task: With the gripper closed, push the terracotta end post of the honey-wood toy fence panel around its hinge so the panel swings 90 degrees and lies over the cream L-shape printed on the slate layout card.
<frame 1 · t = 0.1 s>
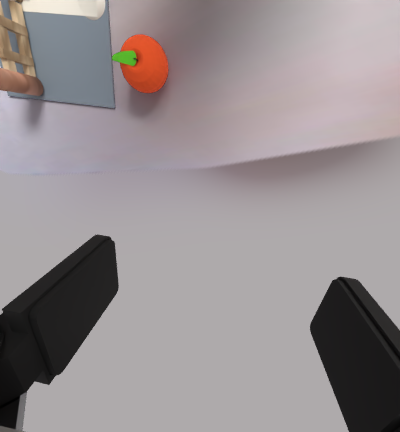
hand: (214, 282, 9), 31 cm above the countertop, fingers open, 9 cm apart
clementine: (150, 71, 33), on the countertop
fence panel: (10, 47, 31), point 4 cm above the countertop, hinge at 0.0°
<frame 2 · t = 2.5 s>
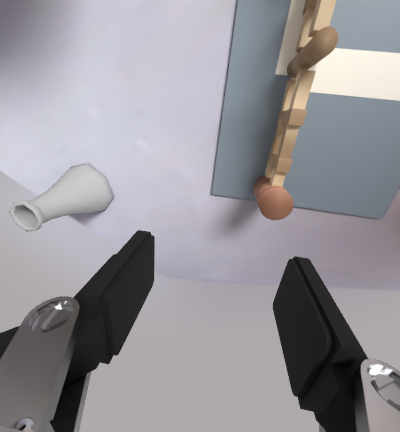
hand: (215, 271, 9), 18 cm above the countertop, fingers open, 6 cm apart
fence fixed section: (295, 68, 19), resting on layout card
flask: (90, 188, 29), on the countertop
fence panel: (282, 150, 19), point 4 cm above the countertop, hinge at 0.0°
layout card: (336, 73, 19), on the countertop
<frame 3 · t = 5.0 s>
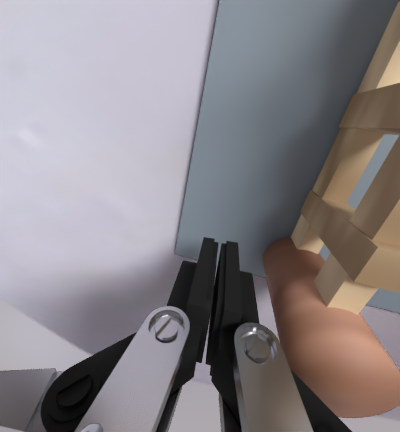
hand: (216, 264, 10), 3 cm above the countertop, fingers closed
fence panel: (368, 205, 6), point 4 cm above the countertop, hinge at 0.8°, touching gripper
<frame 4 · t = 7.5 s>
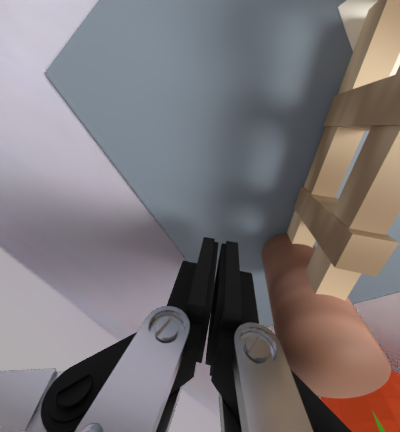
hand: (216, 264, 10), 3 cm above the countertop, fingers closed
clementine: (351, 362, 16), on the countertop
fence panel: (349, 197, 7), point 4 cm above the countertop, hinge at 48.6°, touching gripper
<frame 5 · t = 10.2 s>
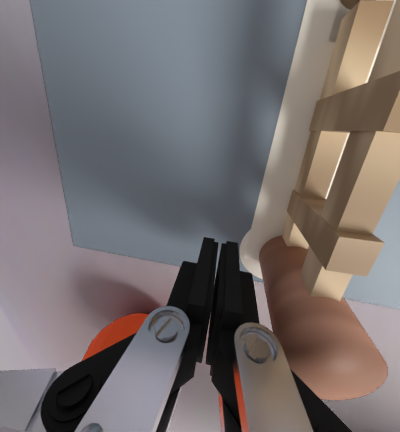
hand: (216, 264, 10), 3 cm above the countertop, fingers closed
clementine: (152, 317, 17), on the countertop
fence panel: (337, 200, 7), point 4 cm above the countertop, hinge at 92.2°, touching gripper
layout card: (320, 105, 9), on the countertop
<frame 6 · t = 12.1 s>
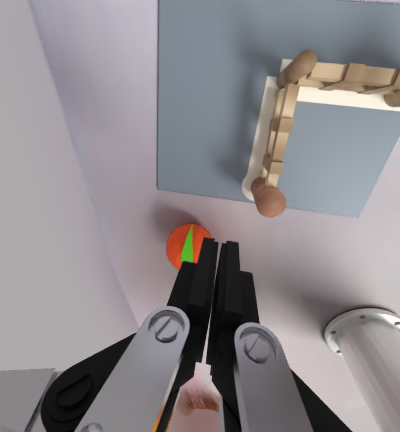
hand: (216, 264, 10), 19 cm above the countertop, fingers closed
fence fixed section: (283, 79, 22), resting on layout card
clementine: (194, 232, 32), on the countertop
fence panel: (275, 154, 22), point 4 cm above the countertop, hinge at 92.2°
layout card: (273, 120, 24), on the countertop
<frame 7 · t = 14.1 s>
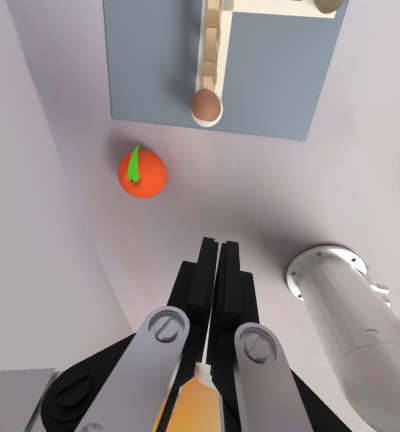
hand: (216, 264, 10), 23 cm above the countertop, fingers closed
clementine: (152, 166, 32), on the countertop
fence panel: (210, 60, 22), point 4 cm above the countertop, hinge at 92.2°
layout card: (214, 35, 24), on the countertop
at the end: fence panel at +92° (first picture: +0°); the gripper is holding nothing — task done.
